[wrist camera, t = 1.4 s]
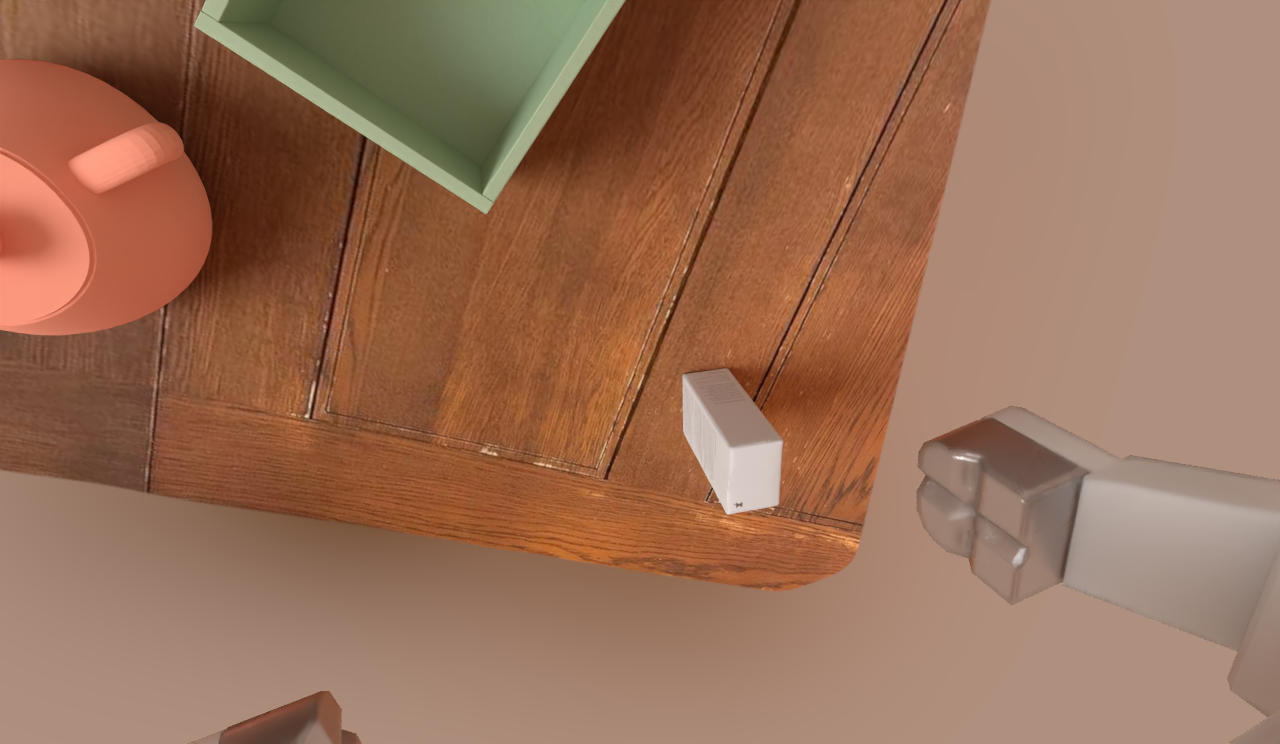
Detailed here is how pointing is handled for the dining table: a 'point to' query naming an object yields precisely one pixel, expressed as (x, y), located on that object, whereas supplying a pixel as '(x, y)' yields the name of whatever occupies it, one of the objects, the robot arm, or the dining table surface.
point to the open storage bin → (425, 72)
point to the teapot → (90, 204)
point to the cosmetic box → (732, 441)
